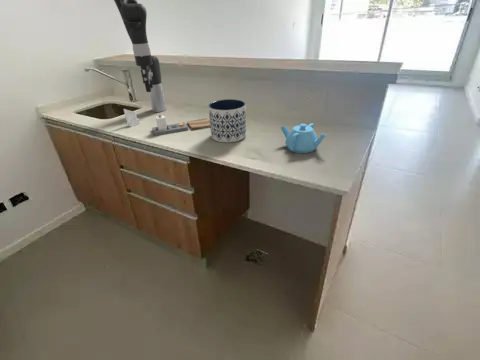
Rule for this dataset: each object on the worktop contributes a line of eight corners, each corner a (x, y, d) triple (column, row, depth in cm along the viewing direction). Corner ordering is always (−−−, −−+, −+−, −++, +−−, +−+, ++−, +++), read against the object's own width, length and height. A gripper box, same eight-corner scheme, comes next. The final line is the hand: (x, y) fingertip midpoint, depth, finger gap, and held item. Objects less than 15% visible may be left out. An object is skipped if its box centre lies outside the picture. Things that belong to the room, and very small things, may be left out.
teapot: (309, 138, 133) (311, 116, 127) (324, 153, 119) (328, 129, 113) (279, 141, 131) (280, 119, 125) (291, 157, 117) (292, 133, 111)
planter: (207, 133, 144) (204, 102, 135) (239, 127, 149) (237, 97, 140) (217, 145, 129) (214, 112, 121) (251, 139, 135) (251, 106, 126)
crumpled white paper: (119, 123, 154) (123, 108, 152) (135, 127, 162) (138, 113, 161) (123, 124, 152) (127, 109, 151) (138, 128, 160) (142, 114, 159)
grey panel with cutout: (152, 130, 150) (151, 126, 149) (184, 124, 156) (184, 120, 154) (154, 135, 143) (153, 131, 142) (188, 129, 149) (187, 125, 147)
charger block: (158, 130, 149) (155, 114, 144) (166, 129, 150) (163, 113, 146) (159, 133, 146) (156, 117, 141) (167, 131, 147) (164, 115, 142)
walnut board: (187, 123, 157) (187, 121, 157) (207, 120, 161) (206, 118, 160) (192, 130, 148) (192, 128, 147) (213, 126, 152) (213, 124, 151)
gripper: (136, 53, 132) (144, 87, 140) (131, 56, 120) (140, 93, 128) (152, 52, 133) (158, 86, 141) (149, 55, 121) (156, 92, 129)
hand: (149, 90), depth 134 cm, fingers open, 8 cm apart
